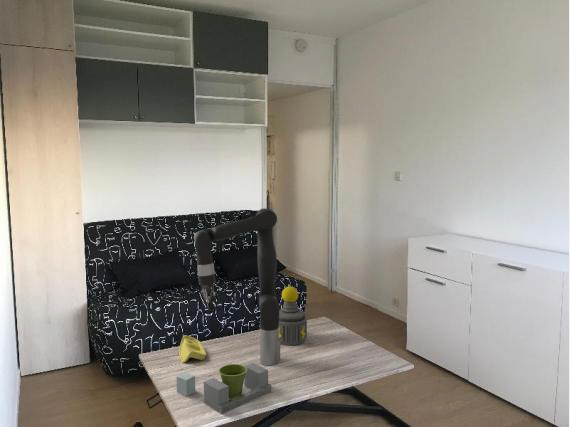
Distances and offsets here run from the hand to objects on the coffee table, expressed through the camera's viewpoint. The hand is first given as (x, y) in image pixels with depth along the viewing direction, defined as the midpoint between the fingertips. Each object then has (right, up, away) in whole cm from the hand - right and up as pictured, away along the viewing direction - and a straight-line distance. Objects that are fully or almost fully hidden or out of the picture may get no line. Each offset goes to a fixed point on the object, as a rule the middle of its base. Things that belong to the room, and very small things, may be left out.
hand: (210, 310), depth 218 cm
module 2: (+7, -32, -30) cm, 44 cm away
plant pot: (+13, -32, -21) cm, 40 cm away
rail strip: (+19, -32, -27) cm, 45 cm away
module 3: (+22, -31, -15) cm, 41 cm away
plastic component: (-13, -28, +21) cm, 37 cm away
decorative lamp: (+37, -25, +42) cm, 61 cm away
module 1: (-8, -31, -18) cm, 37 cm away
